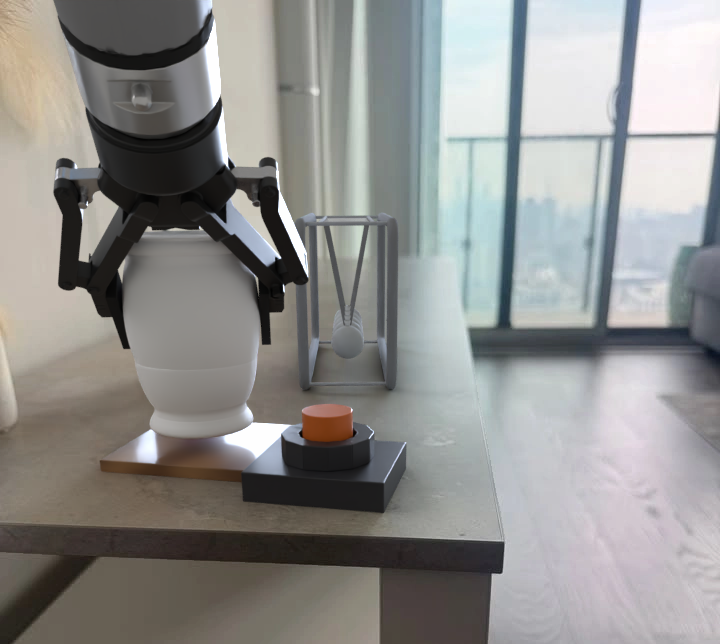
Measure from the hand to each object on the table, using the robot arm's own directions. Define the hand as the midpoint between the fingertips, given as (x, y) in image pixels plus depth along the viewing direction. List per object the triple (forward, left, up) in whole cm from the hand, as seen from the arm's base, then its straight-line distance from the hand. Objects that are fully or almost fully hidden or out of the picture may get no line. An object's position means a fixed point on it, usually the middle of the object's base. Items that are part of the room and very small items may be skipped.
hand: (197, 333), depth 61 cm
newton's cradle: (+5, +33, -10) cm, 35 cm away
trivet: (+1, -3, -9) cm, 10 cm away
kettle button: (+13, -8, -6) cm, 16 cm away
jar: (+1, -3, -7) cm, 8 cm away
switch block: (+13, -8, -9) cm, 18 cm away
